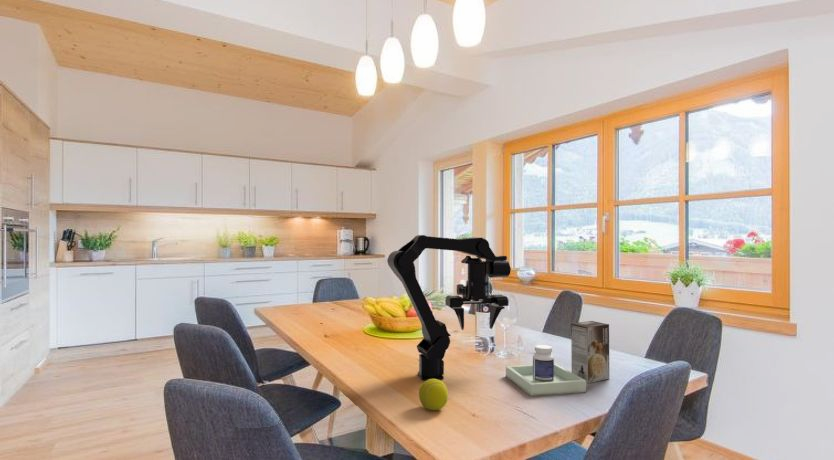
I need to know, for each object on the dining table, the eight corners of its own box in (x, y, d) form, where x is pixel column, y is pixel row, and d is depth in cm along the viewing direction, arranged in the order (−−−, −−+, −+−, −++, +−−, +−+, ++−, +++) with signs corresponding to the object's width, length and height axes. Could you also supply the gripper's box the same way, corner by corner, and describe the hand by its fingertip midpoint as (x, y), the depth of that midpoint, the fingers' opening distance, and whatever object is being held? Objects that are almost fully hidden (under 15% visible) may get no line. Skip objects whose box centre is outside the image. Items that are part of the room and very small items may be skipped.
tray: (531, 396, 112) (531, 384, 112) (505, 376, 128) (505, 366, 128) (586, 392, 115) (586, 380, 115) (554, 373, 131) (554, 363, 131)
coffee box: (592, 372, 132) (592, 320, 132) (610, 379, 126) (610, 324, 126) (570, 377, 127) (570, 322, 128) (588, 383, 122) (588, 327, 122)
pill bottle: (558, 384, 120) (558, 348, 120) (540, 386, 118) (540, 350, 118) (545, 377, 125) (545, 343, 125) (528, 379, 123) (528, 344, 123)
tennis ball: (452, 413, 101) (452, 383, 101) (423, 416, 99) (424, 385, 99) (442, 402, 108) (442, 373, 108) (415, 404, 106) (415, 376, 106)
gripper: (495, 275, 142) (495, 322, 142) (440, 276, 138) (440, 324, 138) (509, 278, 131) (509, 330, 131) (450, 279, 127) (450, 332, 127)
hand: (476, 329), depth 132 cm, fingers open, 9 cm apart
